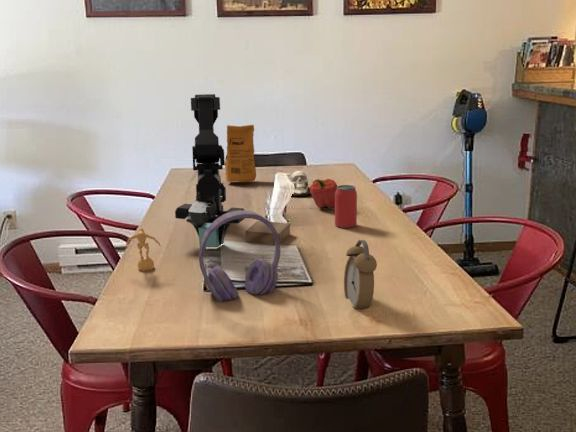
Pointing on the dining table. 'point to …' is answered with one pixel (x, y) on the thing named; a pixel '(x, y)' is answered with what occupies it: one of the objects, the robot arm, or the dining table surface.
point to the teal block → (213, 238)
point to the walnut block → (267, 232)
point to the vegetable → (324, 192)
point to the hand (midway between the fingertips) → (211, 243)
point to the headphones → (258, 274)
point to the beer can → (345, 206)
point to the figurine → (144, 262)
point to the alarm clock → (359, 275)
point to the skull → (300, 183)
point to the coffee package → (240, 154)
